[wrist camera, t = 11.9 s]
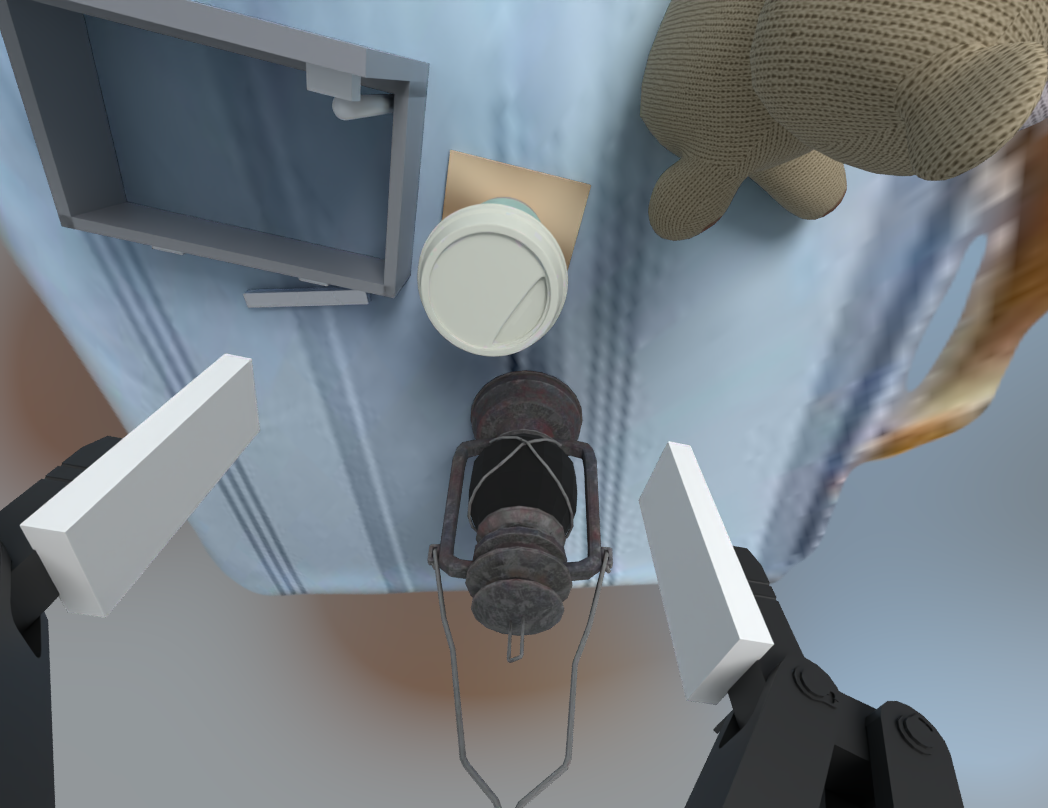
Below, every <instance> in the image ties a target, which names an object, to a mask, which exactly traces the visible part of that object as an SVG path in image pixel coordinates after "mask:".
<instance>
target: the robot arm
mask: <svg viewBox="0 0 1048 808" xmlns="http://www.w3.org/2000/svg"><path fill="white" fill-rule="evenodd" d="M259 431H260V426H259V417H258V409H257V400H256V392H255V383H254V374H253V366H252V359H250V358H245V357H240V356H235V355H230V354H224V355H223V356H221V357H220V358H219V359H218V360H217V361H215V362H214V363H213V364H212V365H211V366H209V367H208V368H207V369H206V370H205V371H203V372H202V373H201V374H200V375H199V376H197V377H196V378H195V379H194V380H193V381H191V382H190V383H189V384H188V385H187V386H185V387H184V388H183V389H182V390H181V391H179V392H178V393H177V394H176V395H175V396H174V397H172V398H171V399H170V400H169V401H168V402H166V403H165V404H164V405H163V406H162V407H160V408H159V409H158V410H157V411H156V412H154V413H153V414H152V415H151V416H150V417H148V418H147V419H146V420H145V421H144V422H142V423H141V424H140V425H139V426H138V427H136V428H135V429H134V430H133V431H132V432H130V433H129V434H128V435H127V436H126V437H124V438H123V439H122V438H117V437H111V436H106V437H104V438H102V439H100V440H97V441H95V442H93V443H91V444H88V445H86V446H84V447H82V448H80V449H79V450H78V451H77V452H75V453H74V454H73V455H72V456H70V457H69V458H68V459H66V460H65V461H64V462H63V463H62V465H61V466H57V467H56V468H55V469H54V470H52V471H51V472H50V473H48V474H47V475H46V477H45V479H41V480H39V481H38V482H37V483H35V484H34V485H33V486H32V487H30V488H29V489H28V490H26V491H25V492H24V493H23V494H21V495H20V496H19V497H18V498H16V499H15V500H14V501H12V502H11V503H10V504H9V505H7V506H6V507H5V508H3V509H2V510H1V511H0V808H55V791H54V766H53V765H54V764H53V739H52V712H51V685H50V660H49V659H50V658H49V631H48V619H47V617H46V615H45V612H44V611H45V610H46V609H47V608H48V607H49V606H50V605H51V604H52V602H54V600H55V599H56V598H57V597H58V596H59V597H60V599H61V601H62V603H63V605H64V607H65V608H66V610H67V612H70V613H77V614H84V615H91V616H98V617H105V618H106V617H107V616H108V615H109V613H110V612H111V611H112V610H113V609H114V607H115V606H116V605H117V604H118V602H119V601H120V600H121V599H122V598H123V596H124V595H125V594H126V593H127V592H128V590H129V589H130V588H131V587H132V585H133V584H134V583H135V582H136V581H137V579H138V578H139V577H140V576H141V575H142V573H143V572H144V571H145V570H146V569H147V567H148V566H149V565H150V563H151V562H152V561H153V560H154V559H155V558H156V556H157V555H158V554H159V553H160V551H161V550H162V549H163V548H164V547H165V545H166V544H167V543H168V542H169V540H170V539H171V538H172V537H173V536H174V534H175V533H176V532H177V531H178V530H179V528H180V527H181V526H182V525H183V523H184V522H185V521H186V520H187V519H188V518H189V516H190V515H191V514H192V513H193V511H194V510H195V509H196V508H197V507H198V505H199V504H200V503H201V502H202V501H203V499H204V498H205V497H206V496H207V494H208V493H209V492H210V491H211V490H212V488H213V487H214V486H215V485H216V484H217V482H218V481H219V480H220V479H221V477H222V476H223V475H224V474H225V473H226V471H227V470H228V469H229V468H230V467H231V465H232V464H233V463H234V462H235V460H236V459H237V458H238V457H239V456H240V454H241V453H242V452H243V451H244V450H245V448H246V447H247V446H248V445H249V443H250V442H251V441H252V440H253V439H254V437H255V436H256V435H257V434H258V433H259ZM639 504H640V508H641V513H642V517H643V521H644V525H645V529H646V534H647V538H648V542H649V546H650V550H651V554H652V559H653V563H654V567H655V571H656V575H657V580H658V584H659V588H660V592H661V596H662V600H663V604H664V609H665V613H666V616H667V621H668V626H669V630H670V634H671V638H672V642H673V646H674V651H675V655H676V659H677V663H678V667H679V672H680V675H681V680H682V684H683V688H684V692H685V697H686V701H693V702H699V703H707V704H713V705H717V704H718V703H719V702H720V701H721V699H722V698H723V697H724V696H725V695H726V694H727V693H728V694H729V698H730V701H731V704H732V707H733V710H732V711H731V712H730V713H729V714H728V715H727V716H726V717H725V718H724V719H723V720H722V721H721V722H720V723H719V724H718V725H717V726H716V727H715V728H714V731H715V732H716V733H717V734H718V733H719V732H720V733H719V735H718V737H717V739H716V742H715V743H714V746H713V748H712V750H711V752H710V754H709V756H708V758H707V761H706V763H705V765H704V767H703V769H702V771H701V774H700V776H699V778H698V780H697V782H696V784H695V786H694V788H693V791H692V793H691V795H690V797H689V799H688V801H687V803H686V806H685V808H964V806H963V802H962V798H961V794H960V790H959V786H958V782H957V779H956V774H955V770H954V766H953V762H952V758H951V755H950V752H949V750H948V748H947V745H946V743H945V741H944V740H943V738H942V737H941V736H940V734H939V733H938V731H937V730H936V728H935V727H934V726H933V725H932V724H931V723H930V722H929V721H928V720H927V719H926V718H925V717H924V716H923V715H921V714H920V713H918V712H917V711H915V710H914V709H913V708H911V707H910V706H908V705H906V704H903V703H900V702H898V701H887V702H886V703H884V704H883V705H882V706H880V707H879V708H878V709H875V708H873V707H871V706H869V705H866V704H864V703H862V702H860V701H858V700H855V699H854V698H852V697H850V696H847V695H845V694H843V693H841V692H840V691H838V688H837V687H836V685H835V684H834V682H833V681H832V680H831V678H830V677H829V675H828V674H827V673H825V672H824V671H823V670H822V669H821V668H820V667H819V666H818V665H816V664H815V663H813V662H811V661H810V660H808V659H806V658H805V657H804V656H803V654H802V651H801V649H800V647H799V645H798V643H797V641H796V639H795V636H794V635H793V632H792V630H791V628H790V626H789V624H788V621H787V619H786V617H785V615H784V613H783V611H782V608H781V606H780V604H779V602H778V601H776V596H775V593H774V591H773V589H772V587H771V586H769V581H768V578H767V576H766V574H765V572H764V570H763V568H762V565H761V564H760V563H759V562H758V561H757V559H756V558H755V557H754V556H753V555H752V553H751V552H750V551H749V550H748V549H747V548H742V547H736V546H732V543H731V541H730V539H729V536H728V534H727V532H726V529H725V527H724V524H723V522H722V520H721V517H720V515H719V513H718V510H717V508H716V505H715V503H714V501H713V498H712V496H711V494H710V491H709V489H708V486H707V484H706V482H705V479H704V477H703V475H702V472H701V470H700V467H699V465H698V463H697V460H696V458H695V456H694V453H693V451H692V449H691V446H690V445H685V444H680V443H675V442H670V441H668V442H667V444H666V446H665V448H664V450H663V452H662V454H661V456H660V458H659V460H658V462H657V464H656V466H655V468H654V470H653V472H652V474H651V476H650V478H649V480H648V482H647V484H646V486H645V488H644V490H643V492H642V494H641V496H640V498H639Z"/></svg>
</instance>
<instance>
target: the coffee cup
mask: <svg viewBox="0 0 1048 808" xmlns="http://www.w3.org/2000/svg"><path fill="white" fill-rule="evenodd" d="M417 281H418V290H419V295H420V298H421V301H422V304H423V306H424V309H425V311H426V313H427V315H428V317H429V319H430V321H431V322H432V324H433V325H434V327H435V328H436V329H437V331H438V332H439V333H440V334H441V335H442V336H443V337H444V338H445V339H447V340H448V341H449V342H451V343H452V344H453V345H455V346H457V347H458V348H460V349H462V350H465V351H467V352H470V353H473V354H477V355H482V356H492V357H493V356H505V355H510V354H514V353H517V352H519V351H522V350H524V349H526V348H528V347H529V346H531V345H532V344H534V343H535V342H536V341H538V340H539V339H540V338H542V337H543V336H544V335H545V334H546V333H547V332H548V331H549V330H550V329H551V327H552V326H553V325H554V323H555V322H556V320H557V319H558V317H559V315H560V313H561V310H562V308H563V305H564V303H565V299H566V295H567V289H568V273H567V266H566V262H565V258H564V255H563V253H562V251H561V248H560V246H559V244H558V243H557V241H556V239H555V238H554V237H553V235H552V234H551V233H550V231H549V230H548V229H547V228H546V227H545V226H544V225H543V224H542V223H541V221H540V220H539V218H538V216H537V215H536V213H535V212H534V211H533V209H532V208H531V207H529V206H528V205H527V204H526V203H524V202H522V201H520V200H518V199H515V198H512V197H496V198H492V199H489V200H487V201H485V202H483V203H481V204H477V205H472V206H468V207H465V208H462V209H460V210H458V211H456V212H454V213H452V214H450V215H449V216H447V217H446V218H445V219H443V220H442V221H441V222H440V223H439V224H438V225H437V226H436V227H435V228H434V229H433V231H432V232H431V233H430V235H429V236H428V238H427V240H426V242H425V244H424V246H423V248H422V251H421V255H420V259H419V265H418V274H417Z"/></svg>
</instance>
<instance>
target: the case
mask: <svg viewBox="0 0 1048 808" xmlns="http://www.w3.org/2000/svg"><path fill="white" fill-rule="evenodd" d="M83 14H86V15H90V16H94V17H98V18H102V19H106V20H109V21H113V22H117V23H121V24H125V25H129V26H133V27H137V28H140V29H144V30H148V31H152V32H156V33H160V34H164V35H168V36H171V37H175V38H179V39H183V40H187V41H191V42H195V43H199V44H202V45H206V46H210V47H214V48H218V49H222V50H226V51H230V52H233V53H237V54H241V55H245V56H249V57H253V58H257V59H261V60H264V61H268V62H272V63H276V64H280V65H284V66H288V67H292V68H295V69H299V70H303V71H306V81H307V90H309V91H313V92H317V93H321V94H325V95H329V96H333V97H335V98H334V99H333V102H332V108H333V111H334V113H335V115H336V116H337V117H338V118H339V119H341V120H352V119H358V118H365V117H372V116H378V115H385V114H392V113H393V129H392V146H391V164H390V182H389V199H388V217H387V235H386V252H385V260H384V259H380V258H375V257H371V256H366V255H362V254H357V253H353V252H348V251H344V250H340V249H335V248H331V247H326V246H322V245H317V244H313V243H308V242H304V241H299V240H295V239H290V238H286V237H282V236H277V235H273V234H268V233H264V232H259V231H255V230H250V229H246V228H241V227H237V226H232V225H228V224H223V223H219V222H215V221H210V220H206V219H201V218H197V217H192V216H188V215H183V214H179V213H174V212H170V211H165V210H161V209H157V208H152V207H148V206H143V205H139V204H134V203H130V202H127V201H126V196H125V192H124V188H123V183H122V179H121V175H120V171H119V166H118V162H117V158H116V153H115V149H114V145H113V141H112V136H111V132H110V128H109V123H108V119H107V115H106V110H105V106H104V102H103V98H102V93H101V89H100V85H99V80H98V76H97V72H96V68H95V63H94V59H93V55H92V50H91V46H90V42H89V38H88V33H87V29H86V25H85V20H84V16H83ZM0 30H1V34H2V37H3V40H4V43H5V46H6V50H7V53H8V56H9V59H10V62H11V66H12V69H13V72H14V75H15V78H16V81H17V85H18V88H19V91H20V94H21V97H22V101H23V104H24V107H25V110H26V113H27V117H28V120H29V123H30V126H31V129H32V133H33V136H34V139H35V142H36V145H37V148H38V152H39V155H40V158H41V161H42V164H43V168H44V171H45V174H46V177H47V180H48V184H49V187H50V190H51V193H52V196H53V200H54V203H55V206H56V209H57V212H58V216H59V219H60V222H61V225H62V226H63V227H67V228H72V229H77V230H81V231H86V232H91V233H95V234H100V235H104V236H109V237H114V238H118V239H123V240H127V241H132V242H137V243H141V244H146V245H151V246H152V249H157V250H161V251H166V252H170V253H175V254H180V255H184V254H186V253H187V254H192V255H197V256H201V257H206V258H211V259H215V260H220V261H224V262H229V263H234V264H238V265H243V266H247V267H252V268H257V269H261V270H266V271H270V272H275V273H280V274H284V275H289V276H294V277H298V278H299V280H300V281H305V282H309V283H314V284H318V285H323V286H329V285H335V286H340V287H344V288H349V289H354V290H358V291H363V292H367V293H372V294H377V295H381V296H386V297H390V298H395V297H396V295H397V294H398V292H399V291H400V290H401V288H402V287H403V285H404V284H405V283H406V281H407V280H408V278H409V277H410V275H411V265H412V254H413V242H414V231H415V220H416V208H417V197H418V186H419V174H420V163H421V152H422V141H423V129H424V118H425V107H426V95H427V84H428V73H429V64H428V63H424V62H421V61H417V60H413V59H409V58H406V57H402V56H398V55H394V54H391V53H387V52H383V51H379V50H376V49H372V48H368V47H364V46H361V45H357V44H353V43H349V42H346V41H342V40H338V39H334V38H331V37H327V36H323V35H319V34H316V33H312V32H308V31H304V30H300V29H297V28H293V27H289V26H285V25H282V24H278V23H274V22H270V21H267V20H263V19H259V18H255V17H252V16H248V15H244V14H240V13H237V12H233V11H229V10H225V9H222V8H218V7H214V6H210V5H207V4H203V3H199V2H195V1H192V0H0ZM361 86H365V87H369V88H373V89H377V90H381V91H384V92H388V93H392V94H368V95H361Z"/></svg>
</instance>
